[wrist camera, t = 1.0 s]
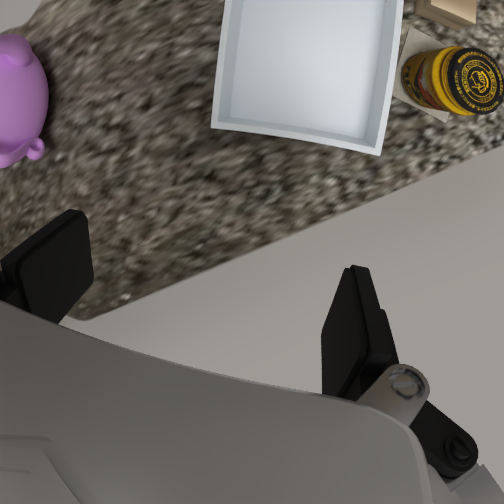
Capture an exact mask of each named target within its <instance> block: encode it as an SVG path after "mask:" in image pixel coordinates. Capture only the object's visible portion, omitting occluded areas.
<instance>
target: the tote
mask: <svg viewBox="0 0 504 504" xmlns="http://www.w3.org/2000/svg"><path fill="white" fill-rule="evenodd" d="M403 2H404V0H225V7H224V14H223V21H222V29H221V36H220V44H219V52H218V61H217V70H216V79H215V88H214V97H213V108H212V118H211V128H217V129H226V130H235V131H244V132H252V133H259V134H266V135H273V136H280V137H286V138H292V139H298V140H304V141H310V142H315V143H321V144H326V145H331V146H336V147H341V148H346V149H351V150H355V151H360V152H364V153H369V154H373V155H377V156H380V154H381V149H382V144H383V140H384V135H385V130H386V125H387V119H388V114H389V109H390V103H391V97H392V91H393V85H394V79H395V72H396V65H397V58H398V50H399V42H400V34H401V24H402V14H403Z"/></svg>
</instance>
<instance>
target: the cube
mask: <svg viewBox="0 0 504 504" xmlns="http://www.w3.org/2000/svg"><path fill="white" fill-rule="evenodd" d="M414 14H415V15H418V16H421V17H424V18H427V19H429V20H432V21H434V22H437V23H440V24H442V25H445V26H447V27H449V28H452V29H454V30H456V29H460V28H463V27H467V26H470V25H474V24H476V0H415V13H414Z"/></svg>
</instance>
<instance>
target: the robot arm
mask: <svg viewBox="0 0 504 504" xmlns="http://www.w3.org/2000/svg"><path fill="white" fill-rule="evenodd" d="M0 263H1V267H2V271H0V504H504V493H503V492H502V490H501V488H500V487H499V485H498V484H497V483H496V481H495V480H494V478H493V477H492V475H491V474H490V473H489V471H488V470H487V468H486V467H485V466H484V464H482V465H481V466H479V465H478V464H477V462H476V461H477V459H478V448H477V444H476V443H475V441H474V439H473V438H472V437H471V436H470V435H469V434H468V433H467V432H466V431H464V430H463V429H462V428H461V427H459V426H458V425H457V424H456V423H454V422H453V421H452V420H451V419H450V418H448V417H447V416H446V415H445V414H443V413H442V412H441V411H440V410H438V409H437V408H436V407H435V406H433V405H432V404H431V403H430V402H429V401H427V398H428V395H429V393H430V388H429V384H428V381H427V379H426V378H425V377H424V375H423V374H422V373H421V372H420V371H419V370H417V369H415V368H414V367H412V366H409V365H405V364H399V360H398V356H397V352H396V348H395V344H394V341H393V337H392V333H391V329H390V326H389V322H388V318H387V315H386V312H385V310H383V309H380V305H379V302H378V298H377V295H376V291H375V288H374V285H373V282H372V278H371V275H370V271H369V269H368V268H366V267H361V266H356V265H351V267H350V269H349V268H345V269H344V272H343V274H342V277H341V280H340V282H339V285H338V288H337V291H336V294H335V296H334V299H333V302H332V305H331V307H330V310H329V313H328V315H327V318H326V321H325V323H324V326H323V329H322V334H321V350H322V351H321V352H322V394H318V393H312V392H307V391H302V390H296V389H291V388H286V387H280V386H275V385H269V384H264V383H259V382H255V381H250V380H245V379H240V378H235V377H231V376H227V375H222V374H218V373H213V372H209V371H205V370H201V369H197V368H193V367H189V366H185V365H182V364H178V363H174V362H171V361H167V360H163V359H160V358H157V357H153V356H150V355H146V354H143V353H140V352H136V351H133V350H129V349H127V348H124V347H121V346H117V345H114V344H111V343H108V342H105V341H102V340H99V339H97V338H94V337H91V336H88V335H85V334H83V333H80V332H77V331H74V330H71V329H69V328H66V327H64V326H61V325H58V324H59V322H60V321H61V320H62V319H63V317H64V316H65V315H66V314H67V313H68V311H69V310H70V309H71V308H72V307H73V306H74V304H75V303H76V302H77V301H78V300H79V298H80V297H81V296H82V295H83V294H84V293H85V291H86V290H87V289H88V288H89V287H90V286H91V284H92V283H93V280H94V273H93V266H92V258H91V249H90V240H89V230H88V219H87V217H86V216H85V214H84V212H82V211H79V210H73V209H68V210H66V211H65V212H64V213H62V214H61V215H59V216H58V217H56V218H55V219H54V220H52V221H51V222H49V223H48V224H47V225H45V226H44V227H42V228H41V229H40V230H38V231H37V232H36V233H34V234H33V235H32V236H30V237H29V238H28V239H26V240H25V241H24V242H22V243H21V244H20V245H19V246H17V247H16V248H15V249H14V250H12V251H11V252H10V253H9V254H7V255H6V256H5V257H4V258H2V259H1V260H0Z"/></svg>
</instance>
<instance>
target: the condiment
mask: <svg viewBox="0 0 504 504" xmlns="http://www.w3.org/2000/svg"><path fill="white" fill-rule="evenodd" d="M422 50H425V51H424V52H422ZM420 51H421V53H419V52H420ZM392 96H394V97H396V98H398V99H400V100H402V101H404V102H406V103H408V104H410V105H412V106H414V107H416V108H418V109H420V110H422V111H424V112H426V113H428V114H430V115H432V116H434V117H436V118H438V119H440V120H441V121H443V122H445V123H446V121H447V119H448V116H449V113H454V114H458V115H462V116H468V115H474V114H480V115H483V114H489V113H491V112H494V111H495V110H496V109H497V107H498V106H499V105H500V104H501V103H502V101H503V97H504V78H503V75H502V73H501V71H500V69H499V67H498V65H497V63H496V62H495V60H494V59H493V58H492V57H491V56H490V55H488V54H487V53H485V52H484V51H482V50H480V49H476V48H464V47H459V46H451V47H447V46H446V45H444V44H442V43H440V42H439V41H437V40H434V39H433V38H431V37H429V36H428V35H426V34H424V33H422V32H420V31H418V30H416V29H414V28H412V27H410V28H409V31H408V35H407V38H406V41H405V45H404V47H403V51H402V54H401V57H400V60H399V63H398V66H397V69H396V72H395V79H394V85H393V91H392Z"/></svg>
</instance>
